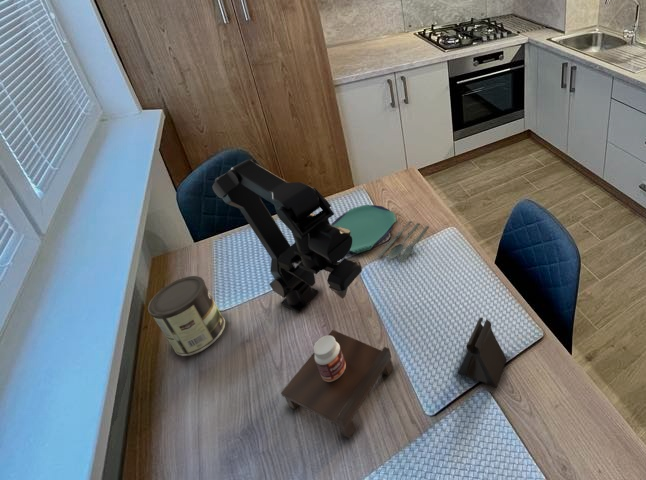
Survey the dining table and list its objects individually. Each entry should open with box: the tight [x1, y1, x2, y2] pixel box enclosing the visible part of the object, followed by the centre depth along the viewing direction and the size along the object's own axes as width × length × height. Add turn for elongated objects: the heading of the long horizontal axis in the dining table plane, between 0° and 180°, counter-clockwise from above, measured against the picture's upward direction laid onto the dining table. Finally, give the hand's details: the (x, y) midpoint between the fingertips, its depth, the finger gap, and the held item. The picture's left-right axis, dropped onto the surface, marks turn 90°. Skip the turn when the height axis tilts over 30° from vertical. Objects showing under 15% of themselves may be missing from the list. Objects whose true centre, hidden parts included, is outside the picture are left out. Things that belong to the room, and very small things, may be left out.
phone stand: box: [457, 317, 507, 388], centre depth 85 cm, size 9×6×12 cm, turn 70°
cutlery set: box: [331, 204, 430, 264], centre depth 123 cm, size 20×30×2 cm, turn 67°
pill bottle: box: [313, 334, 346, 382], centre depth 82 cm, size 5×5×8 cm
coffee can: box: [147, 275, 226, 357], centre depth 94 cm, size 10×10×14 cm
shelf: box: [280, 329, 394, 440], centre depth 84 cm, size 16×14×7 cm
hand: (328, 290), depth 93 cm, fingers open, 9 cm apart
